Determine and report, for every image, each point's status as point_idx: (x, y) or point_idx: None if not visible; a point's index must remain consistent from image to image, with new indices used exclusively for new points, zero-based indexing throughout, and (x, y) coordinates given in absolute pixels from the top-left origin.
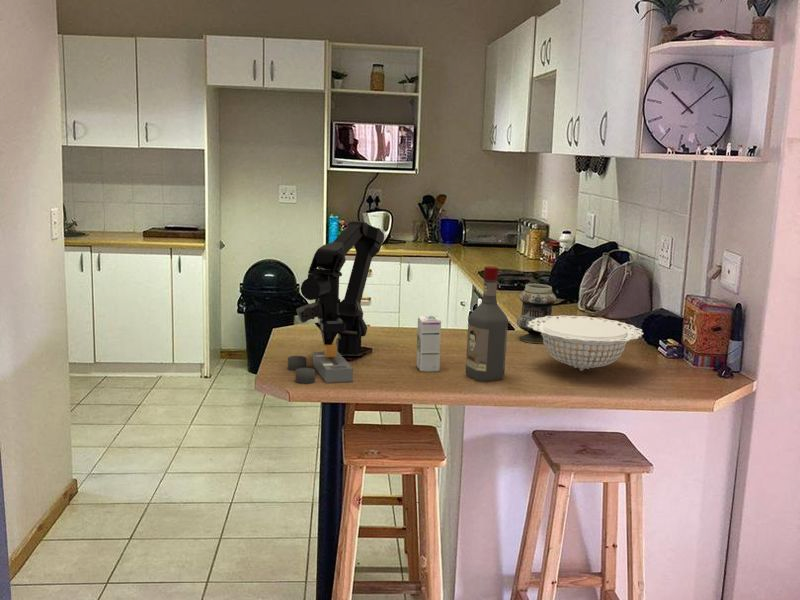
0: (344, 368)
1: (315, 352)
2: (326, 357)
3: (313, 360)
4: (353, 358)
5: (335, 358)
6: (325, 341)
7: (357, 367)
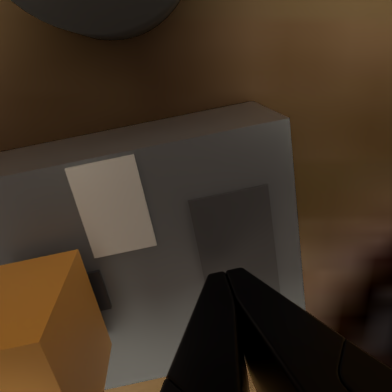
0: None
1: (267, 147)
2: None
3: (231, 112)
4: None
5: None
6: (177, 364)
7: None
